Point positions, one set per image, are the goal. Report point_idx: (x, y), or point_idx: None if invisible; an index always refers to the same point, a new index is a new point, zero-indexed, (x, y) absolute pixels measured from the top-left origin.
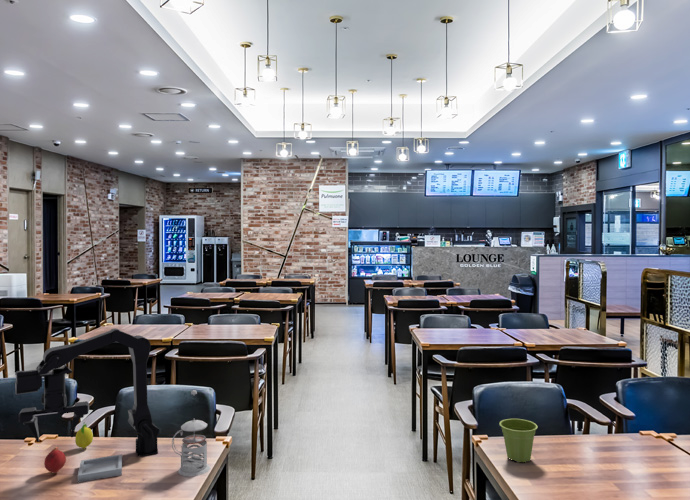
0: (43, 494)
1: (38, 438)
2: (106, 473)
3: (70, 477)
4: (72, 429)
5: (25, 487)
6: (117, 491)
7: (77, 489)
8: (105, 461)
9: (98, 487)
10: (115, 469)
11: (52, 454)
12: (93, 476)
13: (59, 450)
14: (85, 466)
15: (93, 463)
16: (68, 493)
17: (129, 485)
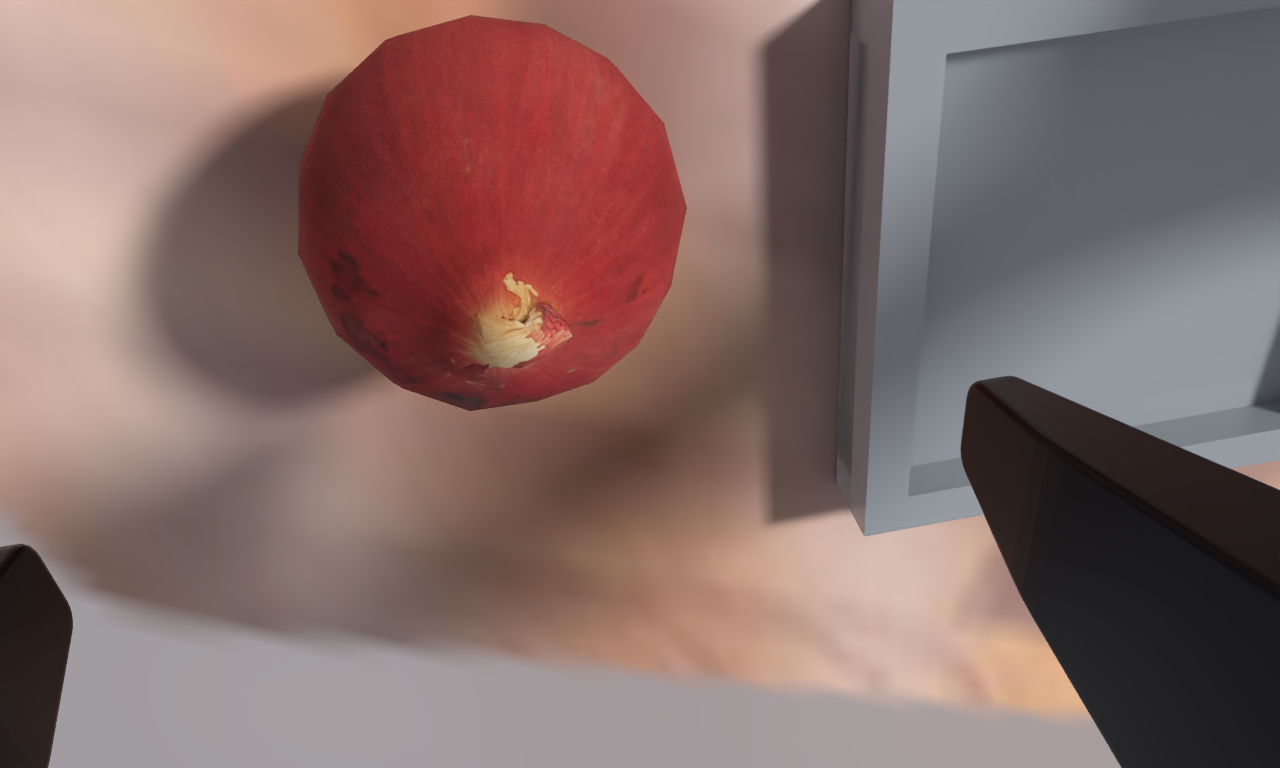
0: (534, 661)
1: (47, 731)
2: None
3: (738, 338)
4: (1138, 735)
5: (245, 498)
6: None
7: (840, 616)
8: (1236, 17)
9: (1021, 607)
10: (1270, 457)
11: (481, 397)
12: None
13: (587, 268)
14: (939, 148)
15: (1059, 50)
16: (767, 670)
17: None
